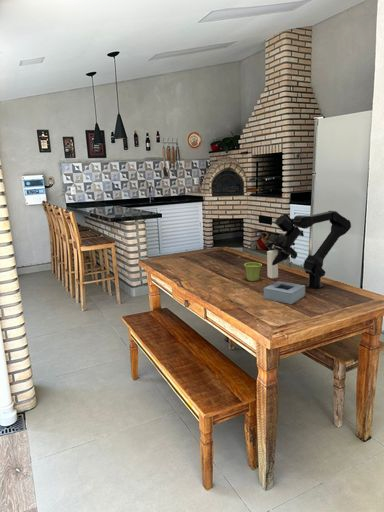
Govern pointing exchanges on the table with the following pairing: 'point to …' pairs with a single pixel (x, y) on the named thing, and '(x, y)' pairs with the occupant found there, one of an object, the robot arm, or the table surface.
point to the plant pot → (252, 270)
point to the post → (271, 269)
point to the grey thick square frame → (284, 292)
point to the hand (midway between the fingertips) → (270, 264)
